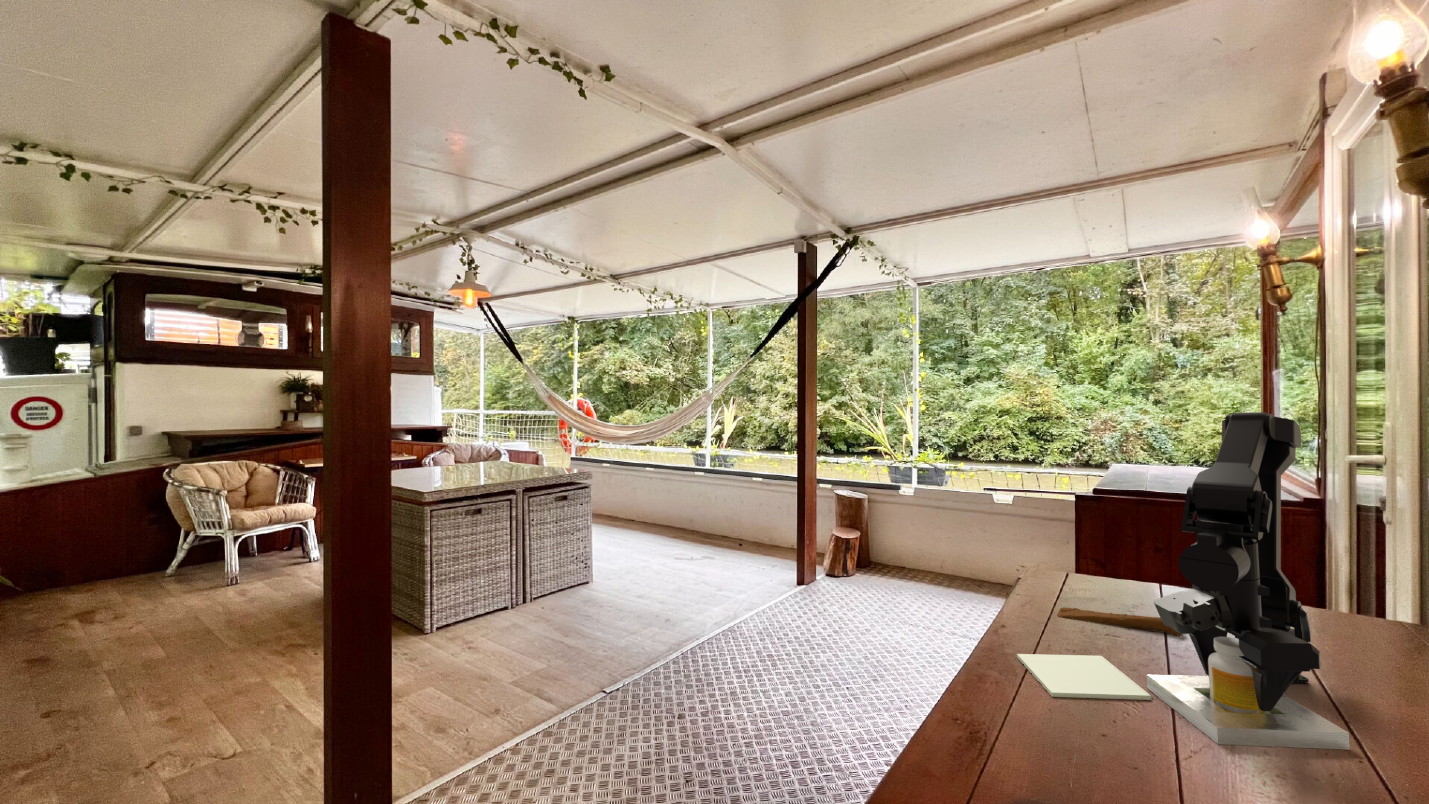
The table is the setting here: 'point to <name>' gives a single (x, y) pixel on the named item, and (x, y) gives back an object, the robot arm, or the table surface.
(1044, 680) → the sage pad
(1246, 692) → the supplement bottle
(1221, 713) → the post foot
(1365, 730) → the table surface
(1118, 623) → the primitive tool
